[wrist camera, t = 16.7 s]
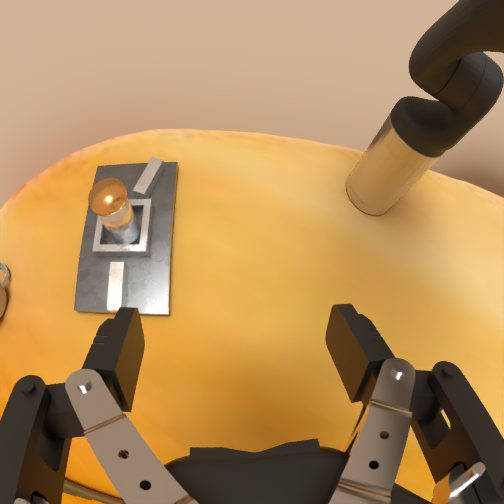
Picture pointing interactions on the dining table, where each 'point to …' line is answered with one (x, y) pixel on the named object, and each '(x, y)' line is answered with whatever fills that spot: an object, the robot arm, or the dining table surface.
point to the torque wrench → (88, 493)
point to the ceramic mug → (0, 291)
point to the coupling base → (131, 245)
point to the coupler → (114, 210)
